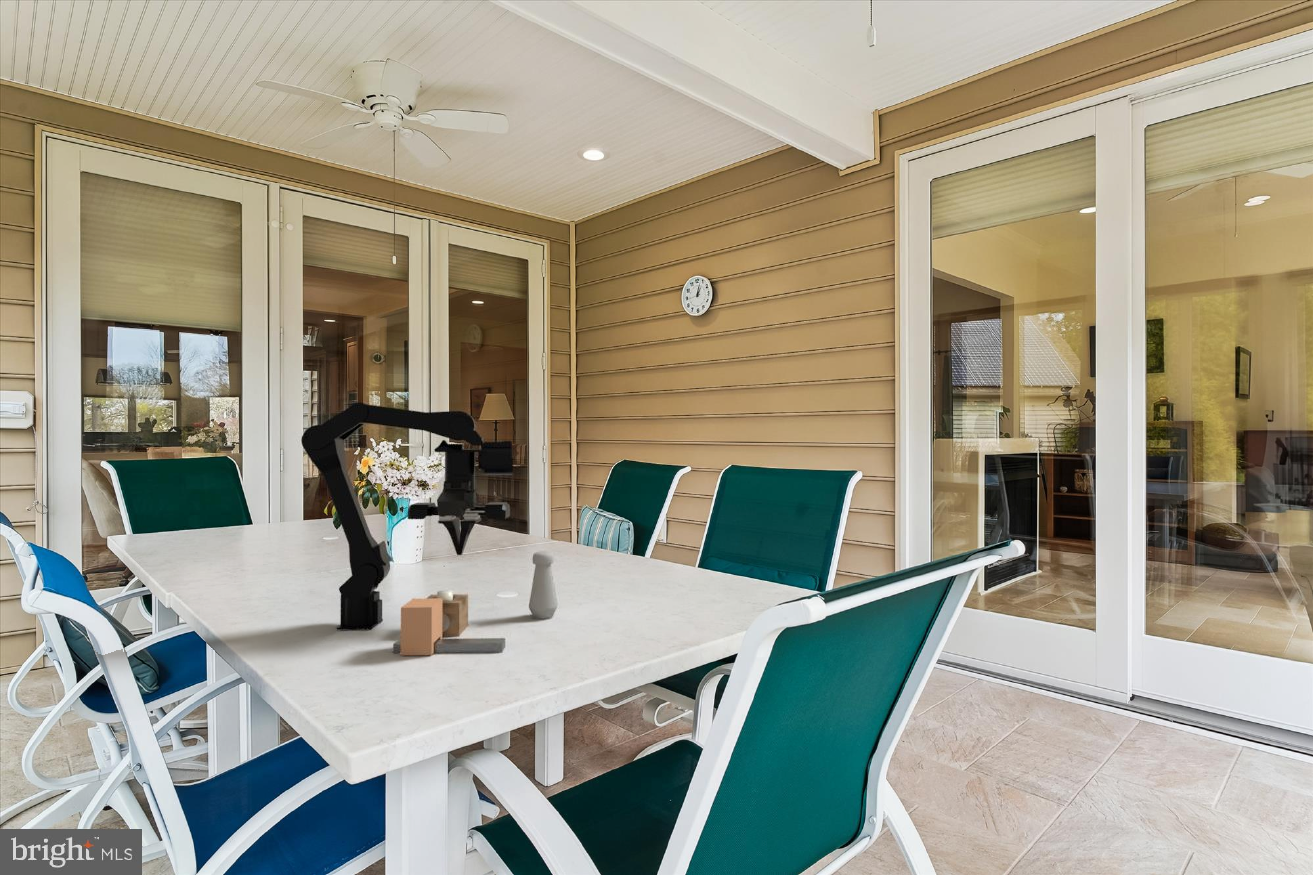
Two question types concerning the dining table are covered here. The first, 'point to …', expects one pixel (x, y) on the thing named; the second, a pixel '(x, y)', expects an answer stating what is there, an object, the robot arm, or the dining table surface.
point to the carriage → (421, 626)
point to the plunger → (445, 595)
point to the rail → (463, 645)
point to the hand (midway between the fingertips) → (459, 554)
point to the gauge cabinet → (454, 615)
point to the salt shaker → (543, 587)
